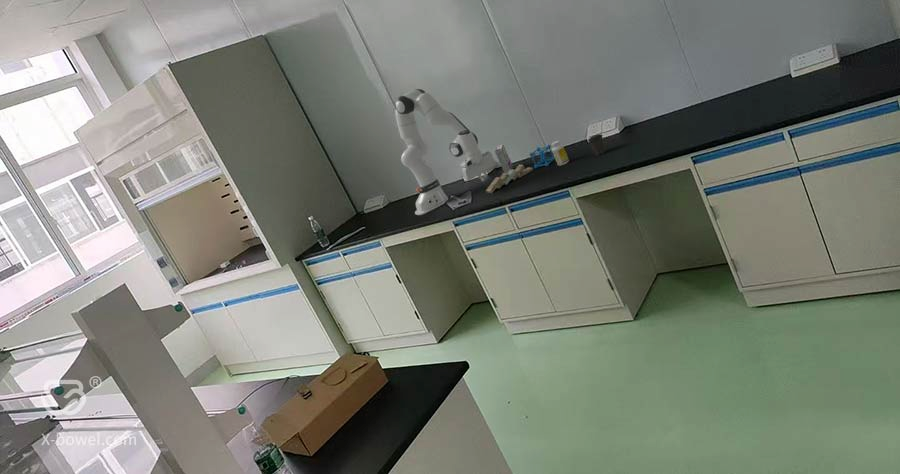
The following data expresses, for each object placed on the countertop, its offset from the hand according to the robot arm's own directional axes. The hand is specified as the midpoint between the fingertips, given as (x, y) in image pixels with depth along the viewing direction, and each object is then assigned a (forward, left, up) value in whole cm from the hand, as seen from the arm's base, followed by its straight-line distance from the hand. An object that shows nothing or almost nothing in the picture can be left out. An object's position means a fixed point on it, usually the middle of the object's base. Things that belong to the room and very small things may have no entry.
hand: (484, 180), depth 361 cm
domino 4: (+19, 0, -8) cm, 21 cm away
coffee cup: (+50, -42, -8) cm, 65 cm away
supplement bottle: (+38, -23, -8) cm, 45 cm away
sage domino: (+10, 0, -7) cm, 12 cm away
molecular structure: (+37, -6, -8) cm, 38 cm away
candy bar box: (+27, +21, -8) cm, 35 cm away
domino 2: (+5, 0, -7) cm, 9 cm away
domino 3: (+15, 0, -7) cm, 17 cm away
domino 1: (-1, 0, -7) cm, 7 cm away
